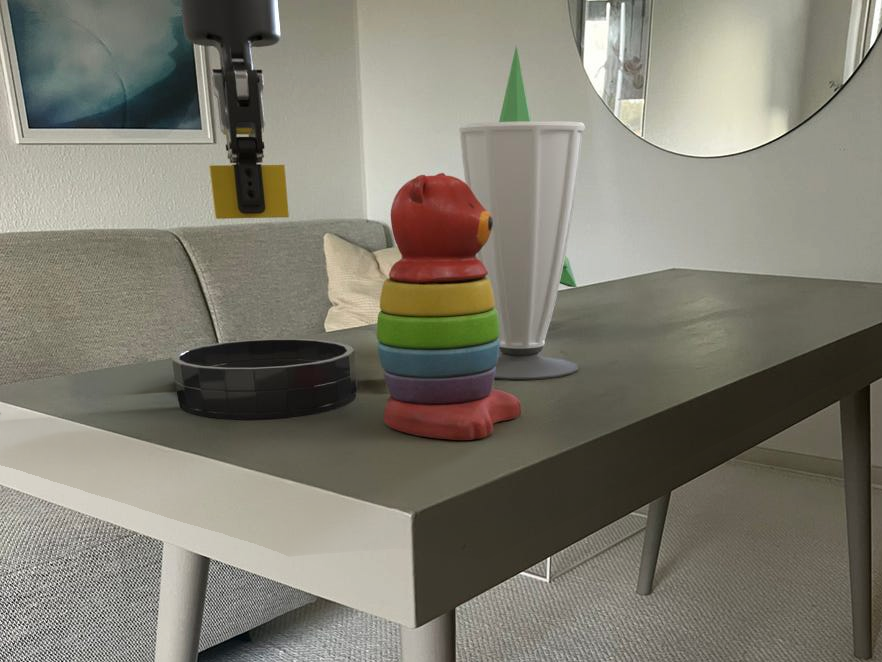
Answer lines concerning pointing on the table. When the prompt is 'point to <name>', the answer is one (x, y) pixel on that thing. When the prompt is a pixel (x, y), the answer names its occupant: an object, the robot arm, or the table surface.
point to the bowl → (265, 378)
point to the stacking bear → (440, 316)
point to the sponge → (228, 197)
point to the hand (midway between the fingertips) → (250, 211)
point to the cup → (524, 230)
